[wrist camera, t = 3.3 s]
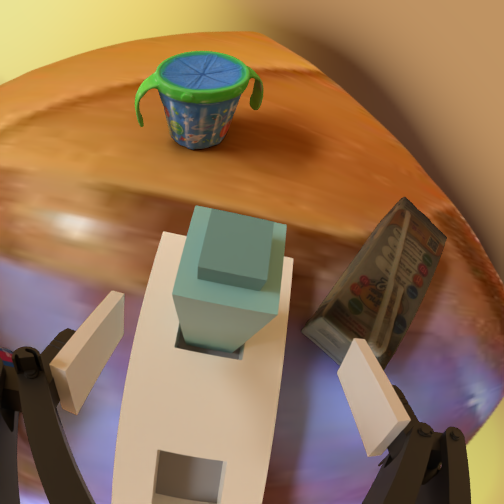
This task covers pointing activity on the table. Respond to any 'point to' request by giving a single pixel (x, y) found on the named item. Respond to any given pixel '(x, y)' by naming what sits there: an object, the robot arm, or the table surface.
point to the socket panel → (196, 404)
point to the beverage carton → (380, 287)
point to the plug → (228, 278)
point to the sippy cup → (200, 95)
